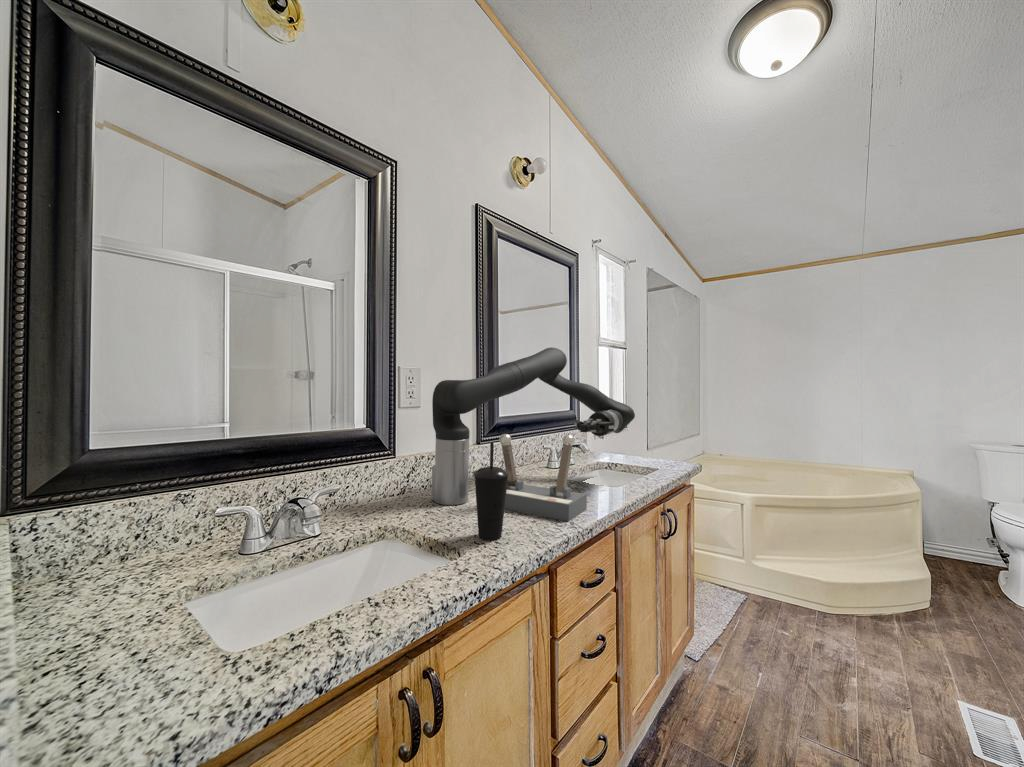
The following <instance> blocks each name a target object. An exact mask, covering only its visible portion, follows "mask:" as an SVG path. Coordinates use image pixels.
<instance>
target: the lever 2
mask: <svg viewBox="0 0 1024 767" xmlns="http://www.w3.org/2000/svg"><path fill="white" fill-rule="evenodd" d="M561 441H562V449H561V454H560V461H559V466H558V467H559V468H558V472H557V473H558V474H557V479H556V480H557V481H556V485H555V486H556V492H559V493H563V489H565V488H567V483H568V476H569V471H570V470H569V469H570V464H571V456H572V451H573V446H574V444H575V438H574V436H573V435H571V434H565V435H564V436H563V438H562V440H561Z"/></svg>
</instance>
